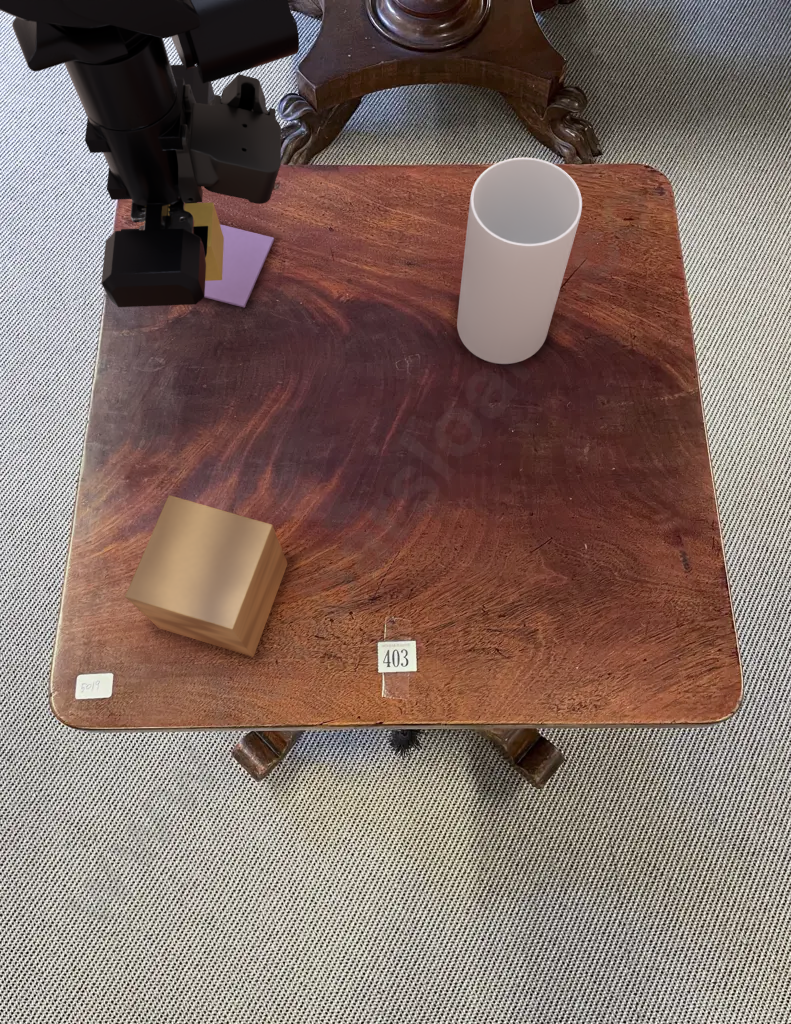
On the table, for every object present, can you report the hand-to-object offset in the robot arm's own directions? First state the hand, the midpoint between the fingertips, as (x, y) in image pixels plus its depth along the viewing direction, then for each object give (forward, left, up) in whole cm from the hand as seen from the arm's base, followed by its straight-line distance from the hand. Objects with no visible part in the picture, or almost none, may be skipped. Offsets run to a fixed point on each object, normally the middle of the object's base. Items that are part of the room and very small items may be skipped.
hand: (189, 260), depth 66 cm
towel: (-3, +8, -12) cm, 15 cm away
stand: (+9, -22, -12) cm, 26 cm away
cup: (+24, +9, -12) cm, 28 cm away
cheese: (0, 0, 0) cm, 0 cm away
